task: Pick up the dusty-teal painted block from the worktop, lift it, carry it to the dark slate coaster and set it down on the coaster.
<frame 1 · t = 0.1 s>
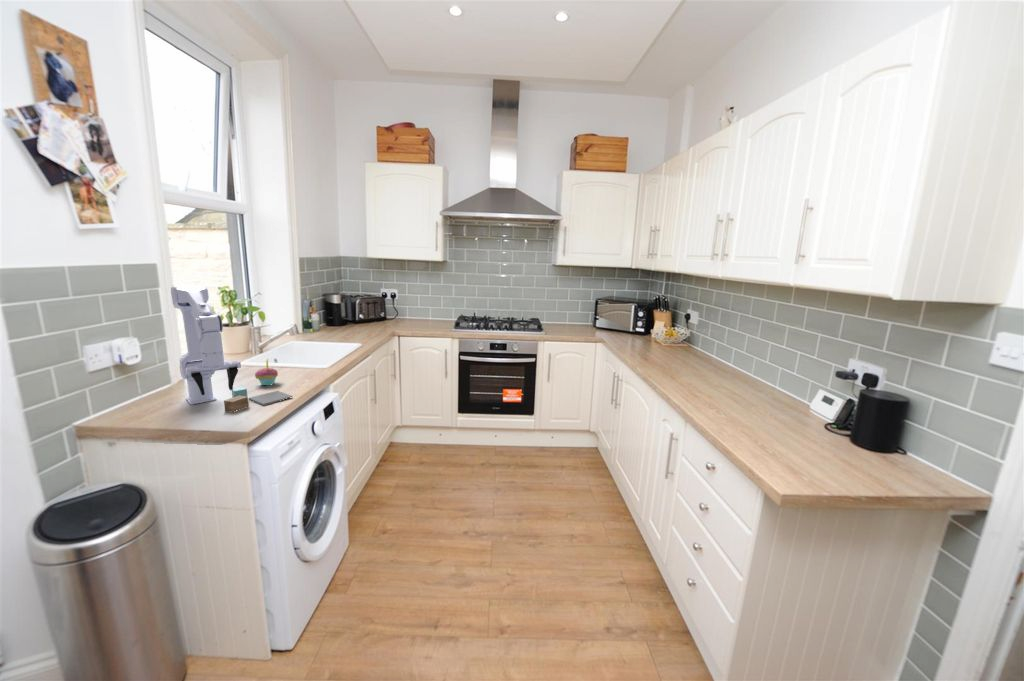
hand: (217, 391, 134), 10 cm above the counter, tool pointing down, fingers open, 7 cm apart
slate coaster: (270, 398, 158), on the counter
cupcake: (267, 384, 175), on the counter
walnut block: (237, 409, 147), on the counter
teal block: (240, 401, 154), on the counter
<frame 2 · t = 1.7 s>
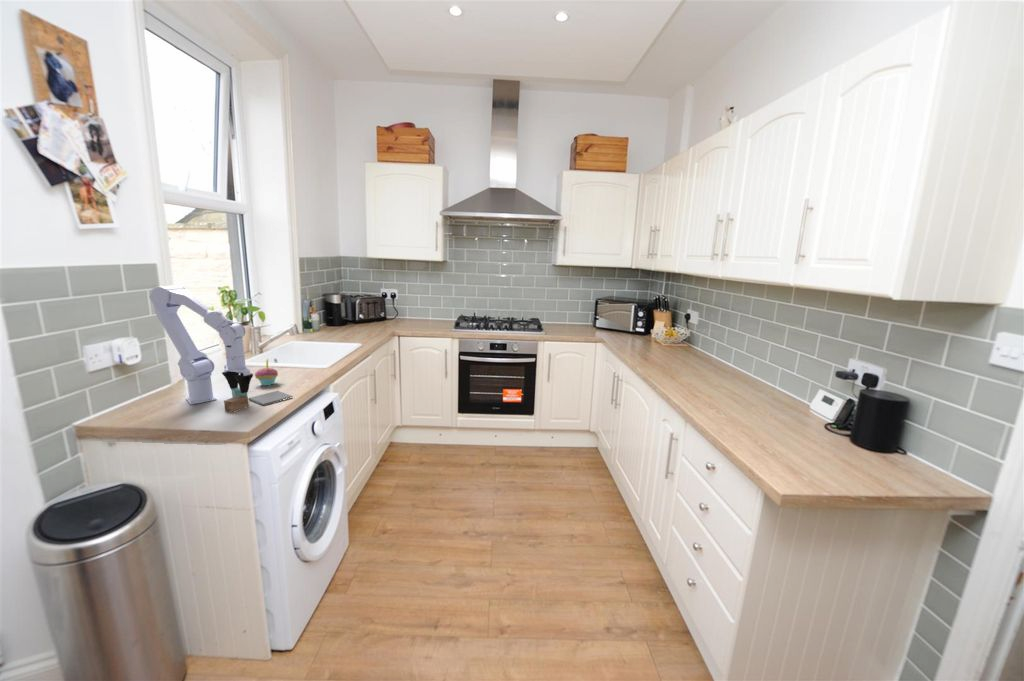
hand: (239, 390, 154), 4 cm above the counter, tool pointing down, fingers open, 7 cm apart
nothing on the counter moved.
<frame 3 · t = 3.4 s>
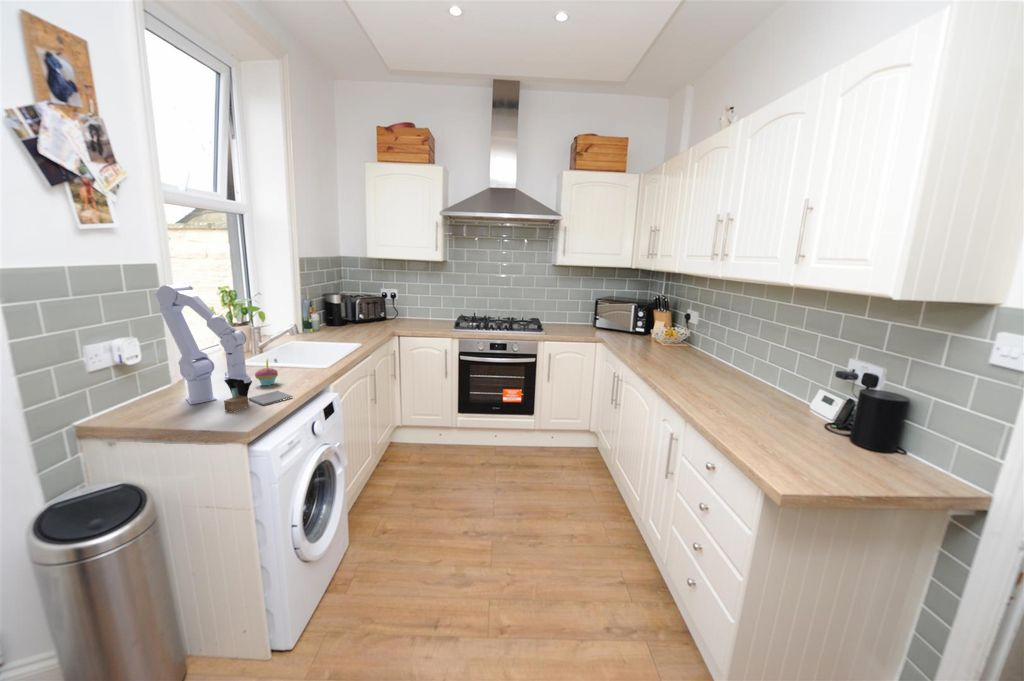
hand: (240, 397, 154), 1 cm above the counter, tool pointing down, fingers closed on teal block, 5 cm apart
teal block: (240, 401, 154), on the counter, touching gripper
everything else where it was.
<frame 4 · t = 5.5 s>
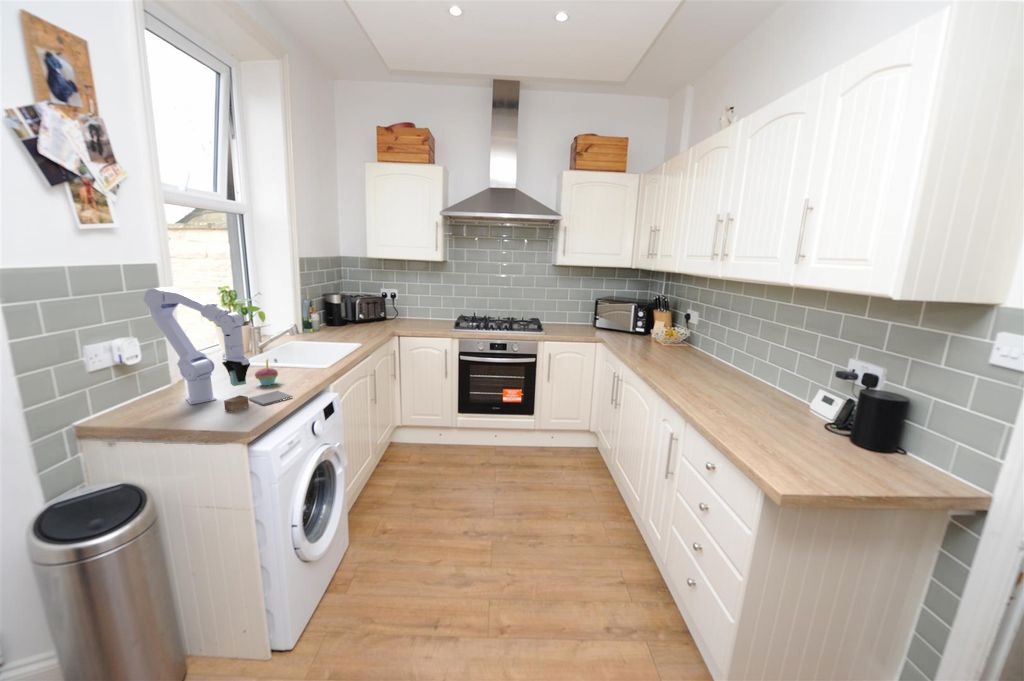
hand: (238, 380, 153), 8 cm above the counter, tool pointing down, fingers closed on teal block, 5 cm apart
teal block: (238, 383, 153), point 7 cm above the counter, touching gripper
everything else where it was.
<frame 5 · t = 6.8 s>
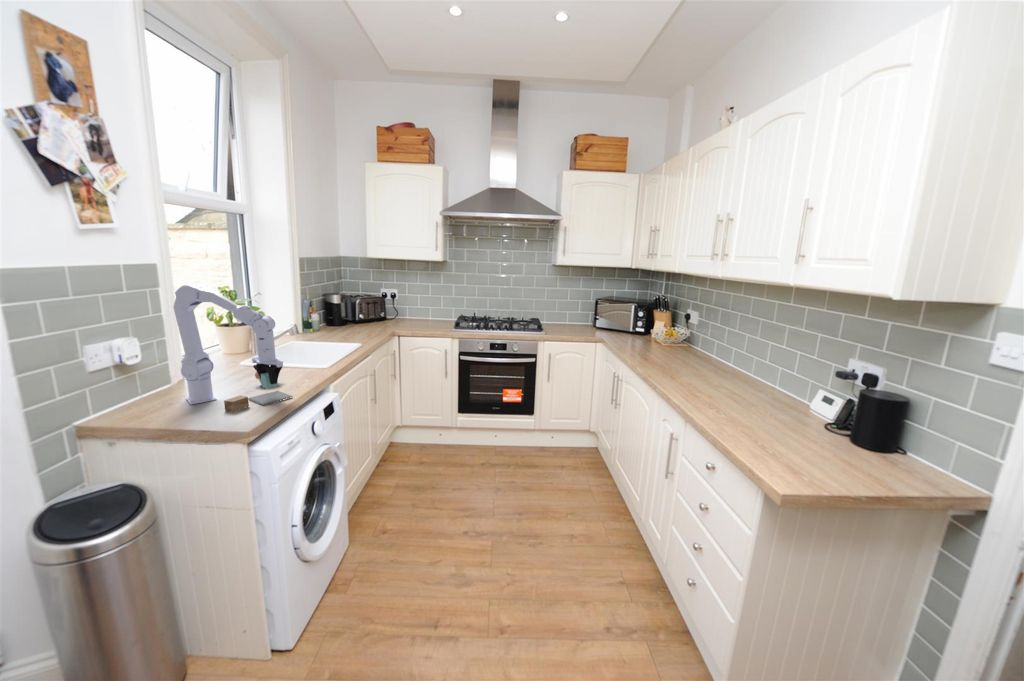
hand: (269, 382, 156), 7 cm above the counter, tool pointing down, fingers closed on teal block, 5 cm apart
teal block: (269, 386, 157), point 5 cm above the counter, touching gripper
everything else where it was.
when the fingers open (3 cm above the counter, at t = 7.8 s): teal block drops 1 cm, resting on slate coaster.
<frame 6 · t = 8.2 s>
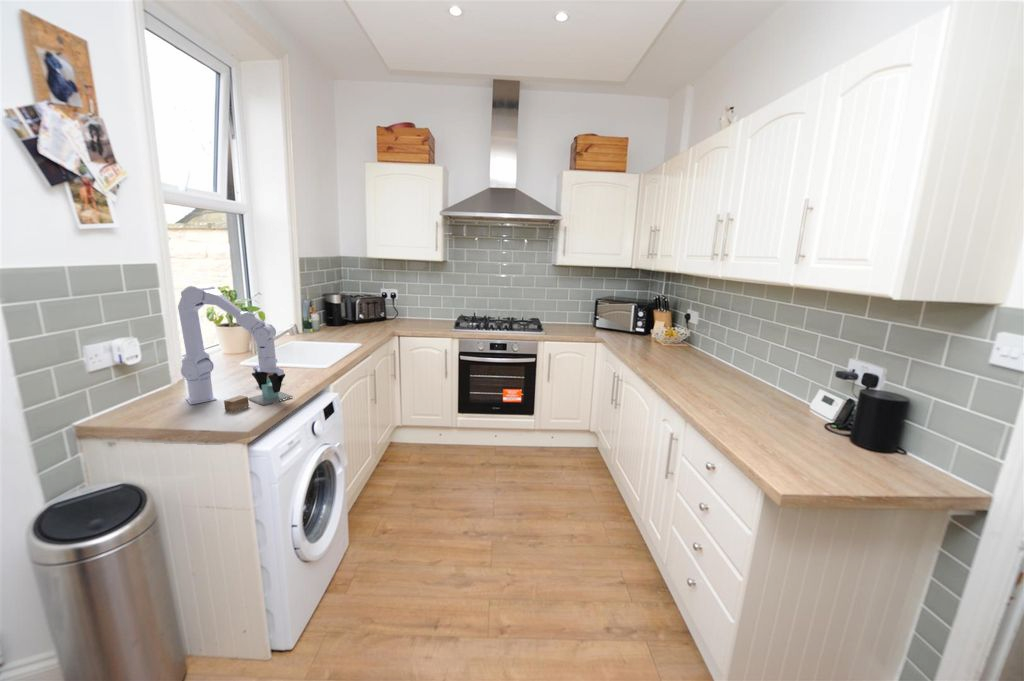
hand: (270, 390, 157), 3 cm above the counter, tool pointing down, fingers open, 7 cm apart
teal block: (270, 397, 157), point 1 cm above the counter, touching slate coaster
everything else where it was.
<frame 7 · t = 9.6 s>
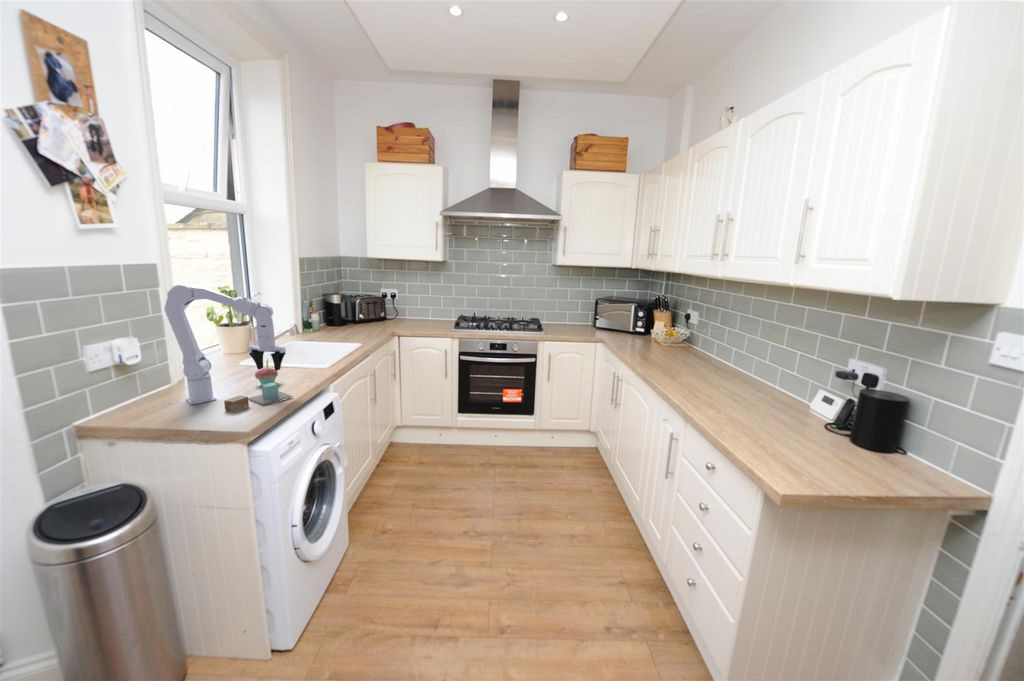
hand: (269, 369, 161), 10 cm above the counter, tool pointing down, fingers open, 7 cm apart
nothing on the counter moved.
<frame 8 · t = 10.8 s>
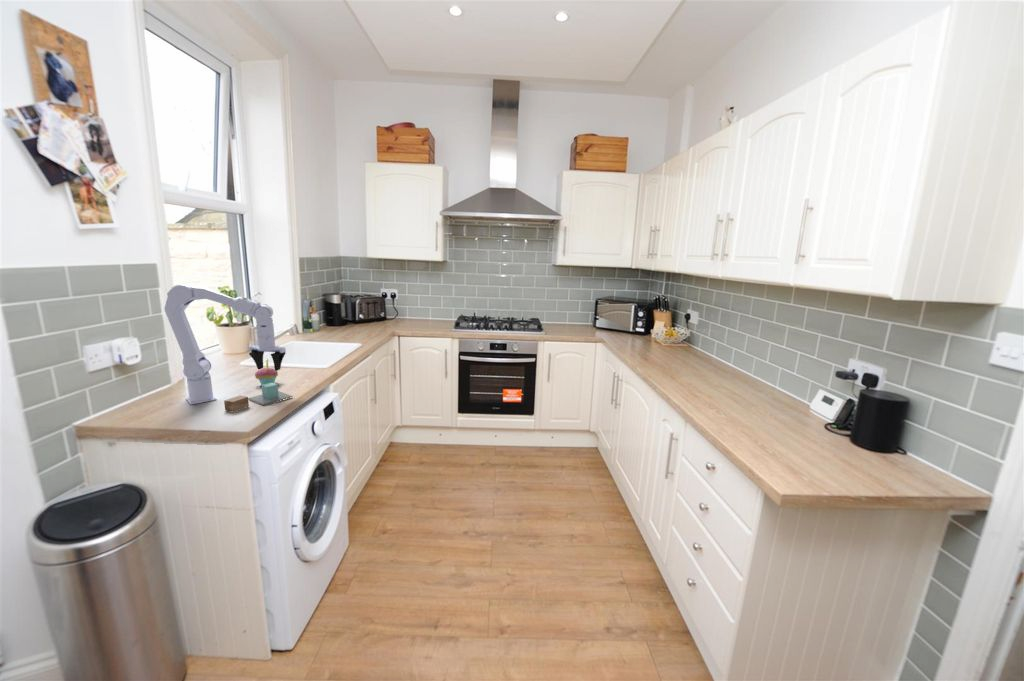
hand: (269, 369, 161), 10 cm above the counter, tool pointing down, fingers open, 7 cm apart
nothing on the counter moved.
at the end: teal block inside the target area on the slate coaster (0.0 cm from its centre), point 0.8 cm above the slate coaster's base; teal block tilted 0°; the gripper is holding nothing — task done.
